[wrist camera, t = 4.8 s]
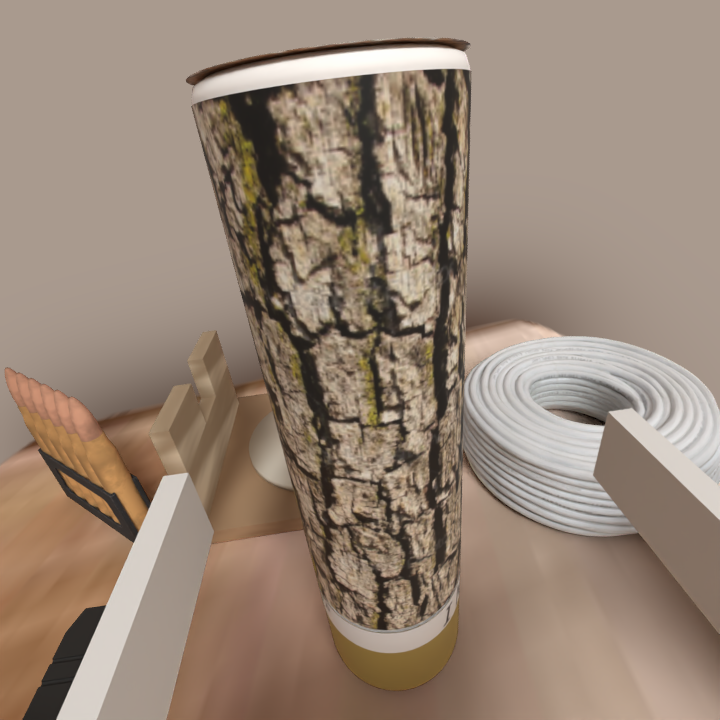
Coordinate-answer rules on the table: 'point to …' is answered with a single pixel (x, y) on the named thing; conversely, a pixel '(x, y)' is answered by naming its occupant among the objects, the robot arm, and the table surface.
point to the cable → (576, 424)
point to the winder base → (227, 450)
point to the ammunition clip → (80, 455)
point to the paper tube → (358, 317)
